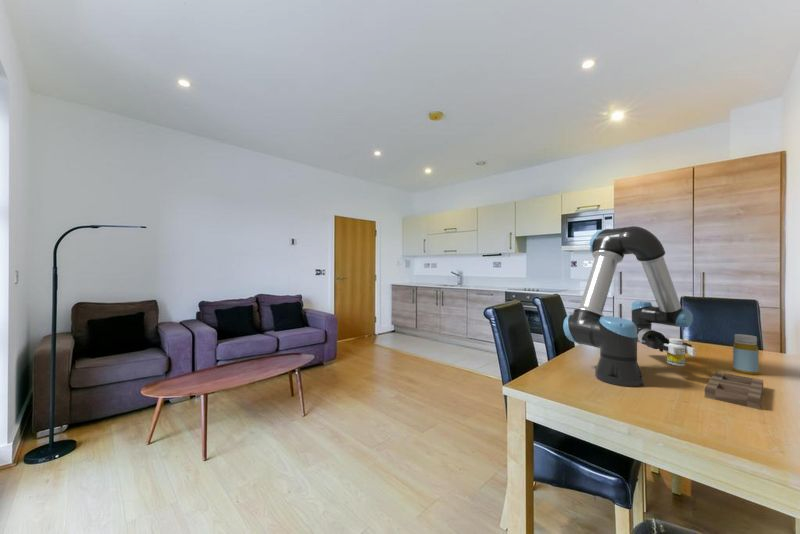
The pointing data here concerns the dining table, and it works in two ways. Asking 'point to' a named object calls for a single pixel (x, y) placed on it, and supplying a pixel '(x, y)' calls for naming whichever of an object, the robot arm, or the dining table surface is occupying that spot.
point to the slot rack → (735, 389)
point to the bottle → (745, 354)
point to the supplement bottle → (680, 352)
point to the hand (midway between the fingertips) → (684, 351)
